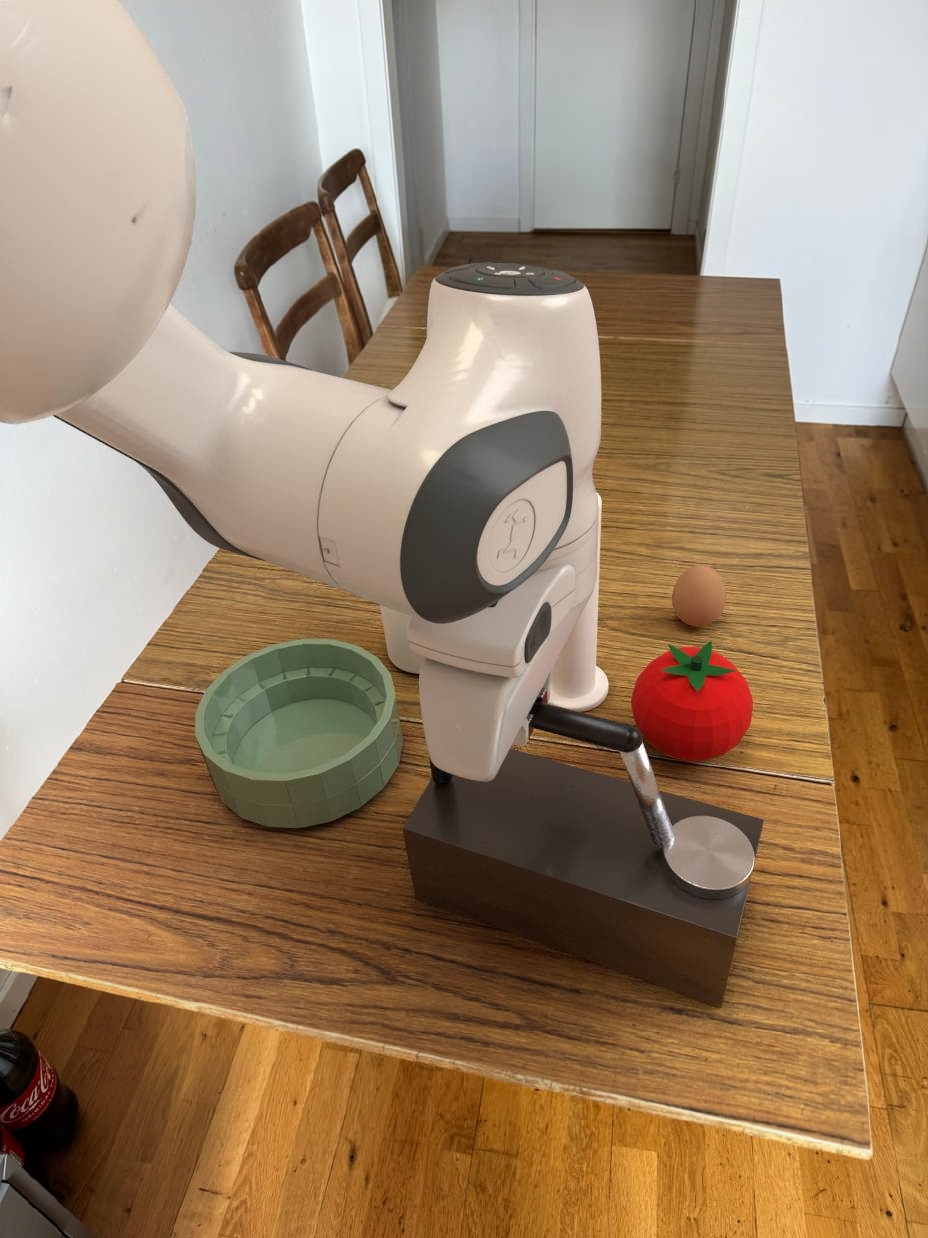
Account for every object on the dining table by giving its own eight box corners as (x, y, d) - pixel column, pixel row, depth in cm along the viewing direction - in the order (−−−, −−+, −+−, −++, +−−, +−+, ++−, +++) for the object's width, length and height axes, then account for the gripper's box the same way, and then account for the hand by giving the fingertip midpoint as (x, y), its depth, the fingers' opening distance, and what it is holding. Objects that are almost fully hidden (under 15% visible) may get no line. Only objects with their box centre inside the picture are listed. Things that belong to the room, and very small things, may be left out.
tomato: (741, 704, 85) (756, 623, 78) (750, 789, 77) (766, 707, 70) (630, 696, 86) (635, 616, 80) (627, 779, 79) (632, 698, 72)
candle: (530, 668, 90) (524, 448, 75) (599, 660, 91) (607, 439, 75) (543, 718, 85) (539, 492, 69) (616, 708, 85) (628, 481, 69)
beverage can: (372, 661, 93) (356, 568, 85) (419, 618, 98) (407, 527, 90) (435, 688, 89) (423, 593, 82) (480, 643, 94) (473, 549, 87)
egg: (721, 641, 92) (729, 587, 87) (667, 635, 93) (673, 581, 89) (722, 608, 96) (730, 555, 91) (671, 603, 97) (676, 550, 93)
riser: (721, 1008, 62) (737, 938, 56) (414, 898, 71) (401, 828, 65) (747, 892, 69) (764, 819, 63) (465, 805, 78) (458, 733, 72)
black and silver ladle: (759, 840, 62) (784, 732, 55) (743, 912, 58) (767, 804, 51) (448, 751, 70) (436, 647, 64) (415, 808, 66) (398, 703, 59)
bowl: (343, 859, 74) (330, 805, 70) (175, 799, 80) (152, 746, 76) (434, 716, 86) (427, 662, 82) (281, 674, 92) (267, 622, 88)
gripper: (532, 458, 59) (535, 619, 68) (390, 650, 45) (417, 821, 54) (624, 473, 57) (616, 637, 66) (505, 679, 43) (514, 852, 52)
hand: (525, 721), depth 60 cm, fingers closed on black and silver ladle
